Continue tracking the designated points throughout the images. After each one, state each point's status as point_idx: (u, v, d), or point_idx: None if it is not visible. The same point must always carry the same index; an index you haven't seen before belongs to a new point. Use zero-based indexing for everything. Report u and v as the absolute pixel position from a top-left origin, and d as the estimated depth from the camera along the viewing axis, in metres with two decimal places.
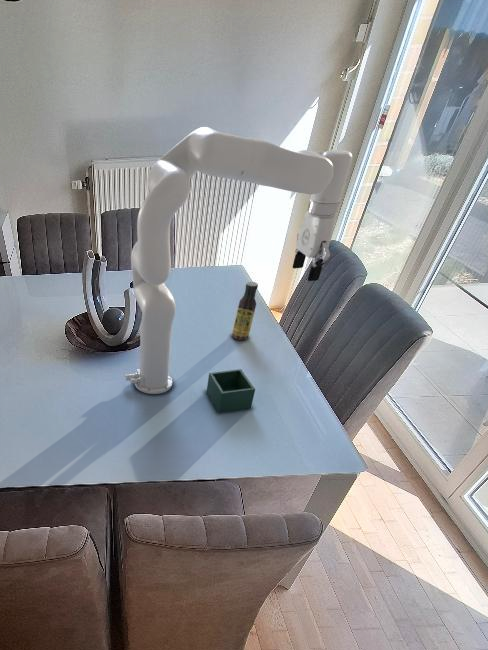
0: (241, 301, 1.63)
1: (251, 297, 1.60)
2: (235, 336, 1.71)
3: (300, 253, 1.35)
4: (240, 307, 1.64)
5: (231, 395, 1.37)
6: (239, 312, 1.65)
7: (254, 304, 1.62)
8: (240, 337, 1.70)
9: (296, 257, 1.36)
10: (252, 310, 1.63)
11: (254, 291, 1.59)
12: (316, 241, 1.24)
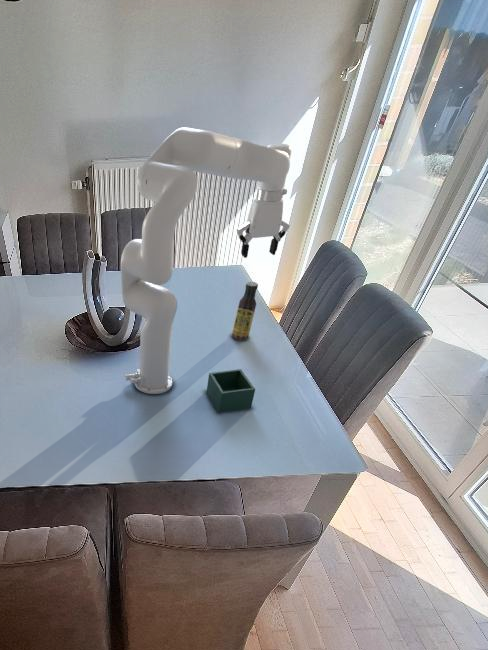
0: (241, 301, 1.63)
1: (251, 297, 1.60)
2: (235, 336, 1.71)
3: (273, 239, 1.49)
4: (240, 307, 1.64)
5: (231, 395, 1.37)
6: (239, 312, 1.65)
7: (254, 304, 1.62)
8: (240, 337, 1.70)
9: (271, 241, 1.51)
10: (252, 310, 1.63)
11: (254, 291, 1.59)
12: None
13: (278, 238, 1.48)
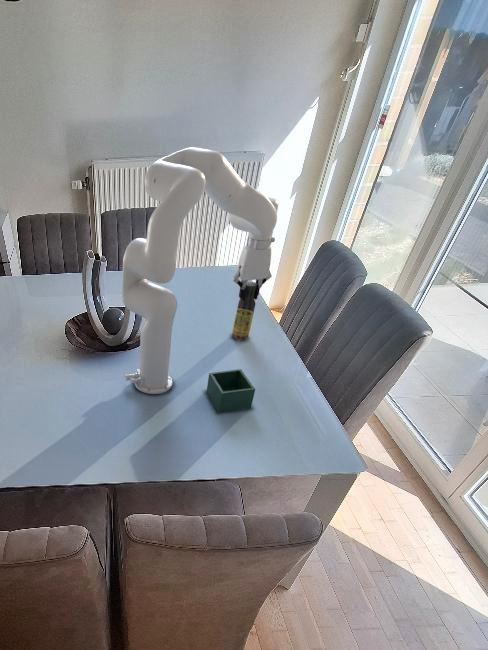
0: (240, 301, 1.63)
1: (250, 297, 1.60)
2: (235, 336, 1.71)
3: None
4: (239, 307, 1.64)
5: (231, 395, 1.37)
6: (238, 312, 1.65)
7: (253, 304, 1.62)
8: (240, 337, 1.70)
9: None
10: (252, 310, 1.63)
11: (253, 291, 1.59)
12: (238, 263, 1.55)
13: (260, 284, 1.59)
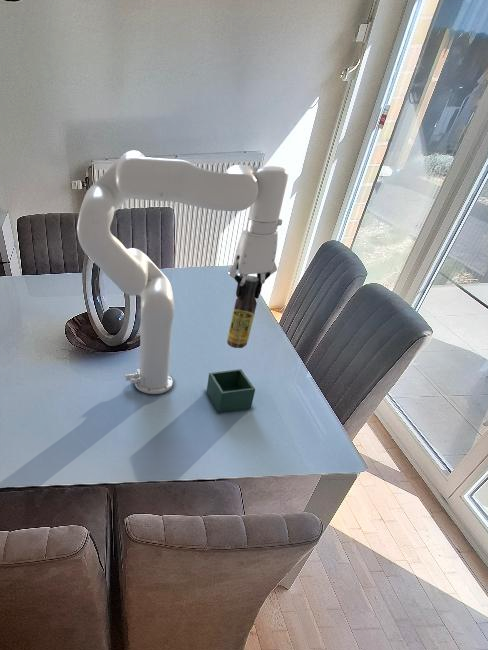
0: (238, 300, 1.31)
1: (251, 295, 1.28)
2: (231, 344, 1.39)
3: None
4: (237, 308, 1.31)
5: (231, 395, 1.37)
6: (235, 314, 1.32)
7: (254, 304, 1.30)
8: (237, 345, 1.38)
9: None
10: (252, 311, 1.31)
11: (254, 288, 1.27)
12: None
13: (263, 280, 1.26)
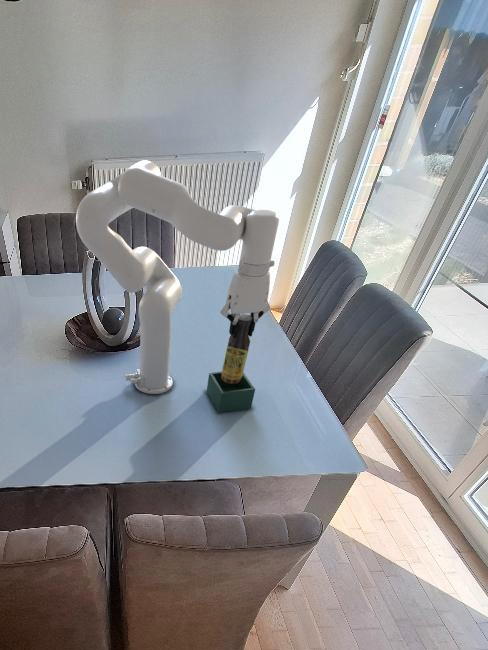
0: (231, 338, 1.30)
1: (244, 333, 1.27)
2: (225, 379, 1.38)
3: None
4: (230, 345, 1.30)
5: (231, 395, 1.37)
6: (229, 352, 1.31)
7: (247, 342, 1.29)
8: (231, 381, 1.37)
9: None
10: (245, 349, 1.30)
11: (247, 326, 1.26)
12: (228, 292, 1.22)
13: (256, 318, 1.25)
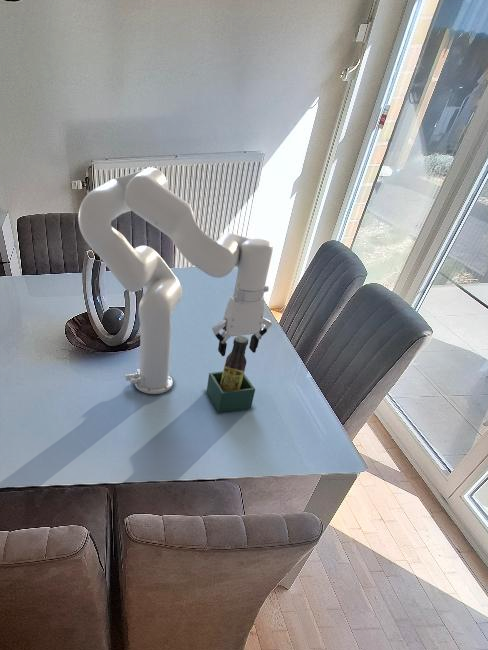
0: (228, 358, 1.35)
1: (240, 354, 1.32)
2: None
3: (253, 336, 1.31)
4: (227, 365, 1.35)
5: (231, 395, 1.37)
6: (226, 371, 1.36)
7: (244, 362, 1.34)
8: None
9: (251, 338, 1.32)
10: (242, 369, 1.34)
11: (244, 348, 1.31)
12: (224, 315, 1.27)
13: (259, 336, 1.29)
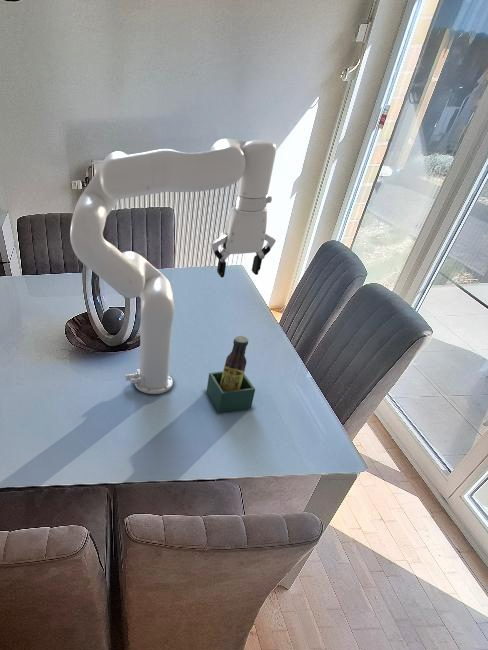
0: (228, 358, 1.35)
1: (240, 354, 1.32)
2: None
3: (256, 256, 1.24)
4: (227, 365, 1.35)
5: (231, 395, 1.37)
6: (226, 371, 1.36)
7: (244, 362, 1.34)
8: None
9: (254, 259, 1.25)
10: (242, 369, 1.34)
11: (244, 348, 1.31)
12: (224, 231, 1.20)
13: (261, 255, 1.22)
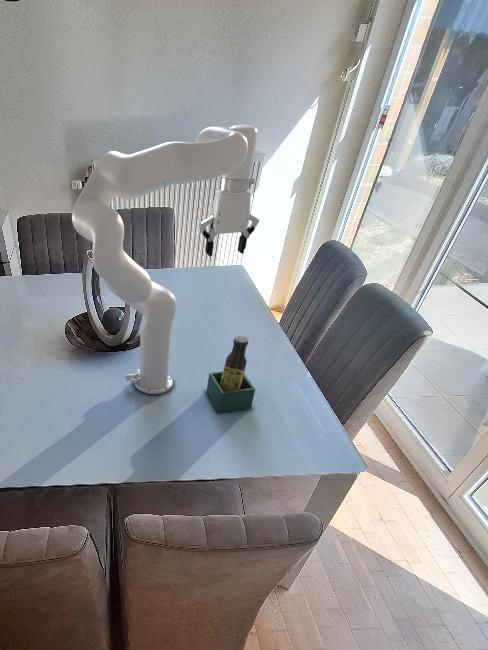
0: (228, 358, 1.35)
1: (240, 354, 1.32)
2: None
3: (242, 236, 1.32)
4: (227, 365, 1.35)
5: (231, 395, 1.37)
6: (226, 371, 1.36)
7: (244, 362, 1.34)
8: None
9: (239, 238, 1.33)
10: (242, 369, 1.34)
11: (244, 348, 1.31)
12: (211, 212, 1.27)
13: (246, 234, 1.30)
